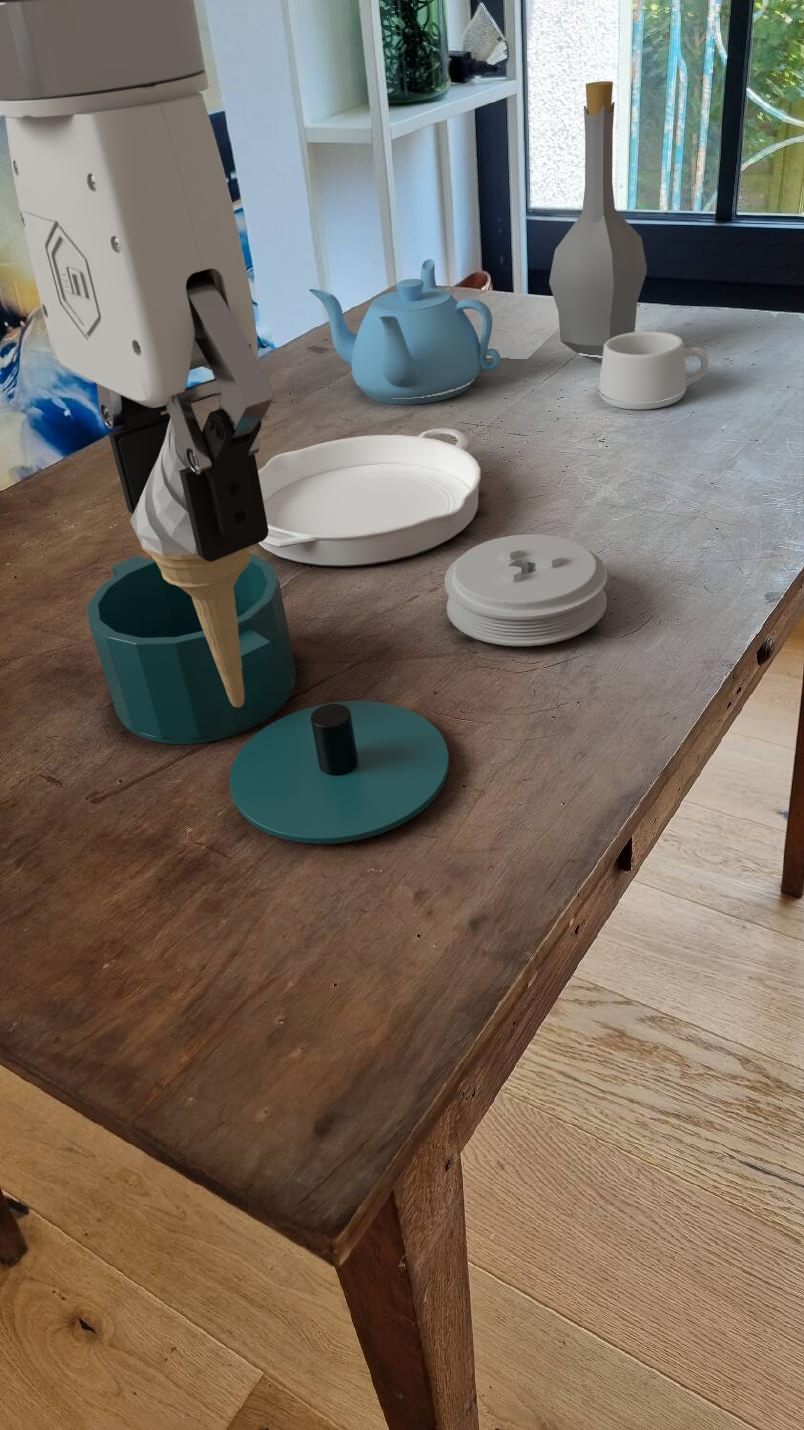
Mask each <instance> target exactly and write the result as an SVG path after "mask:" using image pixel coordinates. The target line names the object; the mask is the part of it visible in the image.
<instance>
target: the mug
mask: <svg viewBox="0 0 804 1430" xmlns="http://www.w3.org/2000/svg"><path fill="white" fill-rule="evenodd" d="M688 356H696V357H697V358H698V359H699V360H700V368H699V370H698V372H697V373H696V374H694V375H692V376H691V377H687V368H686V357H688ZM708 366H709V358H708V355H707V353H706V352H705V351H704V350H703V349H701V348H699V347H685V341H684V340H683V338H681V337H680V336H678V335H676V334H673V333H669V332H666V331H665V332H664V331H656V330H654V331H653V330H652V331H651V330H644V331H634V332H632V333H626V334H622V335H619V336H616V337H613V338H611V339H610V340H608V341H607V342H606V343H605V344H604V349H603V357H602V360H601V366H600V367H601V368H600V373H599V374H600V375H599V383H598V394H599V396H600V398H601V399H602V401H603V402H604V403H606V404H608V405H609V406H612V407H615V408H620V409H626V410H651V409H658V408H659V409H660V408H664V407H668V406H670V405H673V404H675V403H677V402H678V401H680V400H681V399H682V398H683V396H685V394H686V392H687V386H688V385H687V384H689V383H693V384H696V383H697V382H699V381H700V380H702V378H703V377H704V376H705V375H706V373H707V371H708ZM685 388H686V390H685ZM599 390H600V391H601V393H602V394H604V395H605V396H607V397H609V398H612V399H615V400H619V401H624V402H635V403H624V402H618V401H614V400H610V399H607V398H606V397H604V396H602V395H601V393H600V392H599ZM683 390H685V391H684V392H683V393H682V394H680V395H679V396H677V397H674V398H672V399H669V400H664V399H667V398H670V397H673V396H675V395H677V394H679V393H681V392H682V391H683ZM660 400H664V401H660ZM651 401H652V402H653V403H636V402H651ZM654 401H660V402H654Z"/></svg>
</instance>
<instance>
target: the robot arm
mask: <svg viewBox="0 0 804 1430" xmlns="http://www.w3.org/2000/svg"><path fill="white" fill-rule="evenodd" d="M198 23H199V22H198V17H197V12H196V7H195V0H0V118H3V117H4V118H5V126H6V134H7V136H6V137H7V145H8V151H9V157H10V163H11V171H12V177H13V182H14V187H15V194H16V198H17V203H18V204H17V205H18V208H19V213H20V219H21V222H22V227H23V232H24V236H25V241H26V246H27V250H28V254H29V258H30V263H31V267H32V272H33V276H34V280H35V285H36V289H37V293H38V297H39V303H40V306H41V307H40V308H41V311H42V315H43V319H44V323H45V328H46V332H47V335H48V339H49V343H50V347H51V349H52V352H53V354H54V356H55V357H56V359H57V361H58V362H59V363H60V364H61V365H62V366H63V367H65V368H66V369H67V370H69V371H71V372H73V373H75V375H78V376H80V377H82V378H84V379H85V380H88V381H91V382H93V383H94V384H95V386H96V389H97V390H96V391H97V400H98V408H99V414H100V416H101V419H102V422H103V423H104V425H105V426H106V427H107V428H108V429H109V430H112V431H108V432H107V433H108V437H109V441H110V445H111V449H112V453H113V457H114V460H115V464H116V468H117V469H116V470H117V472H118V476H119V480H120V483H121V484H120V485H121V488H122V493H123V496H124V500H125V503H126V508H127V511H128V512H129V514H132V515H133V513H134V511H135V509H136V506H137V504H138V502H139V501H140V497H141V495H142V492H143V490H144V488H145V486H146V483H147V481H148V478H149V476H150V474H151V471H152V469H153V467H154V465H155V463H156V461H157V459H158V457H159V454H160V451H161V448H162V445H163V442H164V440H165V437H166V433H167V428H168V425H169V421H170V418H171V420H172V423H173V426H174V428H175V431H176V434H177V437H178V439H179V442H180V445H181V447H182V450H183V453H184V456H185V458H186V461H187V463H188V466H189V467H188V468H185V469H182V470H180V471H179V472H180V477H181V481H182V486H183V490H184V495H185V499H186V504H187V508H188V513H189V517H190V522H191V526H192V531H193V535H194V540H195V544H196V548H197V553H198V555H199V556H200V557H201V558H203V559H205V560H206V561H208V562H212V561H215V560H217V559H220V558H222V557H225V556H227V555H230V554H232V553H235V552H237V551H239V550H242V549H244V548H247V547H249V546H250V547H252V546H254V545H256V544H259V542H261V541H263V540H265V539H266V537H267V536H268V525H267V519H266V514H265V508H264V503H263V497H262V491H261V486H260V480H259V475H258V471H259V470H258V464H257V459H256V455H257V454H258V453H259V452H260V441H259V437H258V435H259V433H260V430H261V428H262V420H263V419H264V417H265V415H266V413H267V412H268V410H269V408H270V407H271V405H272V403H273V401H274V390H273V387H272V384H271V382H270V381H269V379H268V377H267V375H266V373H265V371H264V369H263V368H262V366H261V364H260V362H259V346H258V345H259V344H258V331H257V324H256V318H255V311H254V303H253V297H252V292H251V291H252V290H251V286H250V282H249V276H248V271H247V265H246V260H245V256H244V251H243V247H242V241H241V237H240V233H239V229H238V223H237V219H236V214H235V211H234V206H233V201H232V197H231V193H230V189H229V185H228V182H227V178H226V177H227V176H226V174H225V169H224V165H223V162H222V157H221V154H220V151H219V147H218V144H217V139H216V136H215V133H214V132H215V131H214V128H213V125H212V122H211V119H210V116H209V113H208V109H207V106H206V102H205V99H204V95H203V93H201V92H204V91H206V90H207V89H209V87H210V86H209V82H208V81H209V80H208V75H207V71H206V70H205V68H206V64H205V58H204V52H203V48H202V41H201V35H200V30H199V24H198ZM198 368H205V369H208V370H210V371H211V372H212V376H213V377H214V378H212V379H208V380H206V381H203V382H199V383H197V384H193V385H191V386H187V385H188V381H189V376H190V371H192V370H195V369H198ZM215 396H216V397H217V399H218V403H219V405H218V408H217V409H216V410H212V411H210V412H209V413H208V415H207V417H206V420H205V423H204V426H203V428H202V429H201V426H200V424H199V421H198V418H197V415H196V413H195V409H194V407H193V404H194V403H197V402H200V401H204V400H206V399H209V398H212V397H215ZM164 412H166V413H164ZM162 413H163V414H162ZM115 428H118V429H115ZM113 429H115V430H113Z"/></svg>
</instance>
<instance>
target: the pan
mask: <svg viewBox="0 0 804 1430" xmlns="http://www.w3.org/2000/svg"><path fill="white" fill-rule="evenodd" d="M442 434H444V435H451V436H453V437H454V438H455V439H456V440H457V442H456V443H455V444H452V443H449V442H446V441H442V440H440V439H434V438H428V437H430V436H433V435H442ZM469 444H470V439H469V437H467V435H466V434H465V433H463V432H462V431H459V430H458V429H456V428H455V429H454V428H447V427H442V428H432V429H428V430H426V431H425V430H424V431H423V432H421V433H419V434H418V435H417V436H415V435H406V434H405V435H404V434H375V435H361V436H354V437H347V438H340V439H334V440H331V441H330V440H329V441H326V442H321V443H316V444H313V445H310V446H307V447H304V448H300V449H296V450H291V451H287V452H283V453H279V454H276V455H275V456H274V455H273V457H271V458H270V459H269V460H268V461H267V462H266V464H265V465H264V466H263V467H262V468H260V469H259V470H258V475H259V480H260V486H261V491H262V497H263V503H264V508H265V514H266V519H267V525H268V536H267V537H266V539H265V540H263V541H261V542H259V543H258V544H259V545H260V547H262V548H263V549H264V550H266V551H267V552H269V553H270V554H272V555H274V556H276V557H278V558H280V559H283V560H287V561H291V562H295V563H297V564H303V565H309V566H316V567H317V566H318V567H329V568H330V567H331V568H332V567H334V568H335V567H336V568H348V567H362V566H363V567H365V566H370V565H377V564H383V563H389V562H394V561H397V560H402V559H406V558H411V557H414V556H417V555H419V554H422V553H425V552H428V551H430V550H433V549H435V548H437V547H439V546H441V545H443V544H445V543H447V542H448V541H450V540H452V539H453V538H454V537H457V535H459V534H460V533H461V532H463V531H464V530H465V529H466V528H467V526H469V524H470V523H471V522H472V521H473V519H474V518H475V515H476V514H477V511H478V508H479V486H480V483H481V474H482V473H481V472H482V469H481V467H480V464H479V462H478V461H477V460H476V459H475V457H474V456H472V455H471V454H470V453H469V452H468V451H466V449H467V448H468V447H469Z"/></svg>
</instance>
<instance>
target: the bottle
mask: <svg viewBox="0 0 804 1430" xmlns="http://www.w3.org/2000/svg"><path fill="white" fill-rule="evenodd" d="M613 85H614V81H610V80H602V81H594V82H593V81H592V82H588V83H586V84H585V95H586V96H585V97H586V98H585V99H586V100H585V101H586V105H584V106H583V120H584V121H583V122H584V192H583V201H582V211H581V214H580V216H579V217H578V218H577V219H576V220H575V222H574V223H573V225H572V226H571V228H570V229H569V230H568V232H567V233H566V234H565V236H564V237H563V238H562V240H560V242H559V243H558V245H557V247H556V248H555V249H554V253H553V259H552V264H551V270H550V274H549V280H548V284H549V287H550V290H551V293H552V296H553V300H554V303H555V306H556V309H557V313H558V314H557V315H558V326H559V327H558V328H559V339H560V340H559V341H560V343H562V344H563V345H565V346H566V347H568V348H569V349H570V350H572V351H573V352H575V353H576V354H578V353H583V354H588V355H599V356H603V349H604V344H605V343H606V342H607V341H608V340H610V339H611V338H613V337H616V336H619V335H622V334H626V333H632V332H636V321H637V310H638V309H637V308H638V300H639V297H640V294H641V291H642V288H643V285H644V282H645V278H646V276H647V271H648V266H647V262H646V256H645V255H646V254H645V251H644V245H643V238H642V237H641V235H640V234H639V233H638V232H637V231H636V230H635V229H634V227H632V226H631V224H630V223H629V222H628V221H627V220H626V219H625V218H624V217H623V216H622V215H621V213H620V212H619V211H618V210H617V209H616V206H615V195H614V186H613V185H614V184H613V160H614V159H613V157H614V155H613V154H614V153H613V151H614V150H613V149H614V146H613V144H614V143H613V142H614V140H613V139H614V120H615V119H614V118H615V104H616V103H615V101H613V90H614V89H613V87H614V86H613ZM581 357H582V358H584V359H588V360H590V361H594V362H598V363H599V362H600V361H602V358H598V357H589V356H581Z"/></svg>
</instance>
